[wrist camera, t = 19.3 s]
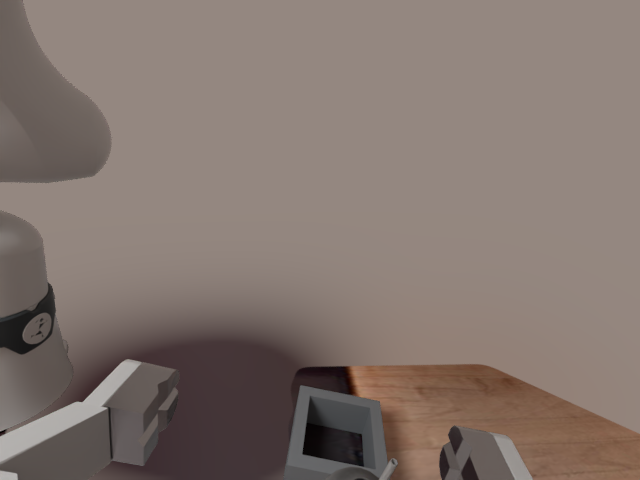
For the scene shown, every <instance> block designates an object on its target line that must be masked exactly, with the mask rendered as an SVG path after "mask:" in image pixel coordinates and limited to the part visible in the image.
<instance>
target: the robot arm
mask: <svg viewBox="0 0 640 480" xmlns="http://www.w3.org/2000/svg"><path fill="white" fill-rule="evenodd" d="M110 150H111V134H110V130H109V126H108V123H107V121H106V119H105V117H104V115H103V114H102V112H101V111H100V109H99V108H98V107H97V105H96V104H95V103H94V102H93V101H92V100H91V99H90V98H89V97H88V96H87V95H85V94H84V93H82V92H81V91H79V90H78V89H77V88H75V87H74V86H73V85H72V84H71V83H69V82H68V81H67V80H66V79H65V78H64V77H63V76H62V75H61V74H60V73H59V72H58V71H57V69H56V68H55V67H54V66H53V65H52V63H51V62H50V61H49V59H48V58H47V57H46V55H45V54H44V52H43V51H42V49H41V48H40V46H39V44H38V42H37V41H36V38H35V36H34V34H33V32H32V30H31V27H30V25H29V22H28V19H27V16H26V12H25V9H24V4H23V0H0V182H25V183H28V182H29V183H50V182H58V181H66V180H73V179H79V178H86V177H92V176H94V175H95V174H97V173H98V172H99V171H100V170H101V169H102V168H103V166H104V165H105V163H106V161H107V159H108V157H109V154H110ZM54 299H55V295H54V293H53V289H52V286H51V285H50V284H49V283H48V281H47V272H46V264H45V255H44V247H43V240H42V237H41V235H40V233H39V232H38V231H37V229H35V228H34V226H32V225H31V224H30V223H28V222H27V221H25V220H23V219H21V218H19V217H17V216H15V215H12V214H10V213H7V212H4V211H0V431H3V430H5V429H8V428H11V427H13V426H15V425H18V424H20V423H22V422H24V421H26V420H28V419H30V418H31V417H33V416H35V415H37V414H38V413H40V412H41V411H43V410H44V409H46V408H47V407H49V406H50V405H51V404H52V403H54V402H55V401H56V400H57V399H58V398H59V397H60V396H61V395H62V394H63V393H64V391H65V390H66V389H67V388H68V386H69V384H70V382H71V380H72V377H73V367H72V365H71V363H70V361H69V359H68V356H67V353H68V345H67V342H66V341H65V340H62V336H61V333H60V329H59V325H58V321H57V318H56V315H55V312H56V309H55V301H54ZM178 381H179V371H177V370H175V369H171V368H166V367H162V366H158V365H153V364H149V363H145V362H144V363H143V362H139V361H134V360H130V359H127V360H125V361H123V362H121V363H120V364H119V366H118V367H116V369H115V370H114V371H113V372H112V373H111V374H110V375H109V376H108V377H107V378H106V379H105V380H104V381H103V382H102V383H101V384H100V385H99V386H98V387H97V388H96V389H95V390H94V391H93V392H92V393H91V394H90V396H88V397H87V398H86V399H85V400H84V401H83V403H81V402H75V403H73V404H71V405H69V406H66V407H64V408H62V409H60V410H58V411H55V412H53V413H51V414H49V415H47V416H45V417H42V418H40V419H38V420H36V421H33V422H31V423H29V424H27V425H25V426H22V427H20V428H18V429H16V430H14V431H11V432H9V433H7V434H5V435H3V436H0V480H88V479H89V478H90V477H92V476H93V475H94V474H96V473H97V472H98V471H100V470H101V469H103V468H104V467H105V466H107V465H108V464H109V463H111V460H113V461H119V462H125V463H131V464H137V465H144V464H145V462H146V461H147V459H148V457H149V456H150V454H151V452H152V451H153V449H154V447H155V446H156V444H157V442H158V432H160V431H162V430H163V429H165V428H166V427H167V426H168V424H169V422H170V421H171V419H172V416H173V414H174V412H175V409H176V406H177V402H178V391H177V390H176V388H175V385H176V384H177V383H178ZM448 436H449V439H450V442H449V443H447V444H445V445H444V446H443V448H442V450H441V453H440V461H439V467H440V475H441V478H442V480H533V478H532V477H531V475H530V473H529V471H528V469H527V468H526V466H525V464H524V462H523V460H522V458H521V457H520V455H519V453H518V451H517V449H516V447H515V446H514V444H513V442H512V440H511V439H510V438H509V437H508V436H507V435H502V434H497V433H491V432H486V431H481V430H476V429H470V428H465V427H460V426H455V425H454V426H453V427H452V428H451V429H450V431H449V434H448Z"/></svg>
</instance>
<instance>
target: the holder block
mask: <svg viewBox="0 0 640 480" xmlns="http://www.w3.org/2000/svg"><path fill="white" fill-rule="evenodd" d="M306 423H310V424H315V425H320V426H325V427H330V428H335V429H340V430H345V431H349V432H354V433H359V434H362V441H363V458H364V467H361V466H356V465H351V464H346V463H341V462H336V461H332V460H327V459H322V458H317V457H312V456H307V455H302V452H303V444H304V437H305V429H306ZM387 465H388V461H387V453H386V445H385V438H384V430H383V422H382V415H381V407H380V401H376V400H371V399H366V398H361V397H356V396H351V395H346V394H341V393H336V392H331V391H326V390H321V389H316V388H311V387H306V386H300V391H299V396H298V401H297V405H296V410H295V416H294V421H293V427H292V433H291V439H290V444H289V450H288V456H287V461H286V467H285V473H284V479H283V480H325V479H326V478H327V477H328V476H330V475H331V474H332V473H334V472H335V471H336V470H339V469H343V468H346V467H360V468H362V469H365V470H367V471H370V472H371V473H373V474H374V475H375V476H377V477H378V478H380V477H381V475H382V473H383V472H384V470H385V468H386V467H387ZM389 480H390V478H389Z"/></svg>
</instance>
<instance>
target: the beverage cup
mask: <svg viewBox="0 0 640 480" xmlns="http://www.w3.org/2000/svg"><path fill="white" fill-rule="evenodd" d="M397 464H398V462H397V460H396V459H394V458H392V459H391V460H390V461H389V463H388V465H387V467H386V468H385V470H384V472H383V473H382V475H381V477H380V478H378V477H377V476H375V475H374V474H373V473H371V472H370V471H367V470H365V469H362V468H360V467H346V468H343V469H339V470H336V471H335V472H334V473H332V474H331V475H330V476H328V477H327V478H326V479H325V480H389V478H390V477H391V475H392V473H393V472H394V470H395V468H396V467H397Z"/></svg>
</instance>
